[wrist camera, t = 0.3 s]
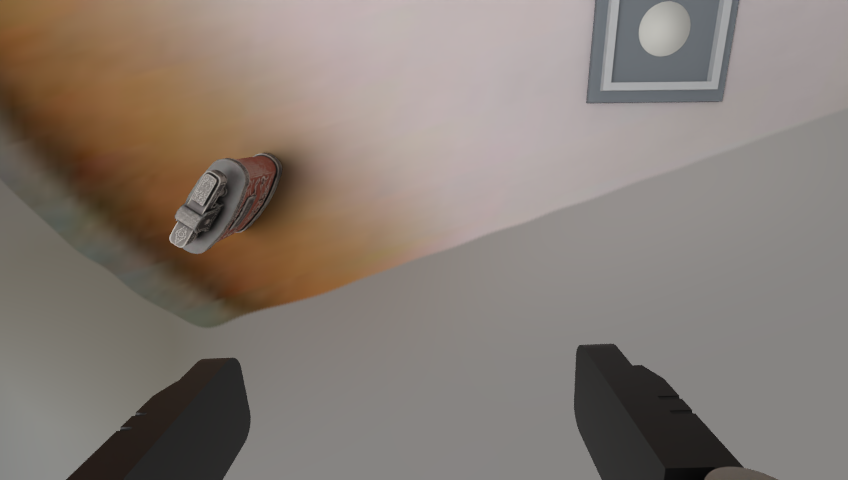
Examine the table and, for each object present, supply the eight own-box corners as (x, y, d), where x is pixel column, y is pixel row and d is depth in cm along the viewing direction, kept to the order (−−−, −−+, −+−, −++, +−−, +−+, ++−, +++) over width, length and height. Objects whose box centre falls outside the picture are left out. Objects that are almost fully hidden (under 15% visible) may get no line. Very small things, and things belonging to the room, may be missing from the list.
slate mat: (599, -46, 32) (604, -52, 31) (744, -49, 32) (753, -55, 31) (586, 102, 35) (590, 102, 34) (718, 101, 35) (726, 100, 34)
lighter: (247, 237, 39) (185, 273, 29) (216, 217, 38) (142, 246, 29) (290, 167, 37) (239, 180, 27) (257, 144, 37) (194, 150, 27)
